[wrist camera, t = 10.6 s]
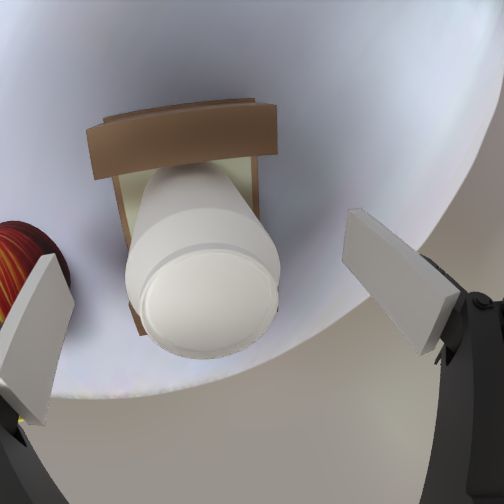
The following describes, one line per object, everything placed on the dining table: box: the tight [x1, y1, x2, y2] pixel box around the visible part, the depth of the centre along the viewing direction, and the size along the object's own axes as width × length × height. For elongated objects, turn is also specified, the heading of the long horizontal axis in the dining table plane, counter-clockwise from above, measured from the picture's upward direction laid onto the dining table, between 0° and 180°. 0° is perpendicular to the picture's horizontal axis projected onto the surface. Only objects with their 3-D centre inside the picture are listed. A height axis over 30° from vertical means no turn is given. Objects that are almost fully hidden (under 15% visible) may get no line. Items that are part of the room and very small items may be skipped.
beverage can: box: [125, 161, 280, 359], centre depth 15 cm, size 6×6×12 cm
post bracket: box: [86, 98, 278, 336], centre depth 18 cm, size 13×10×7 cm
